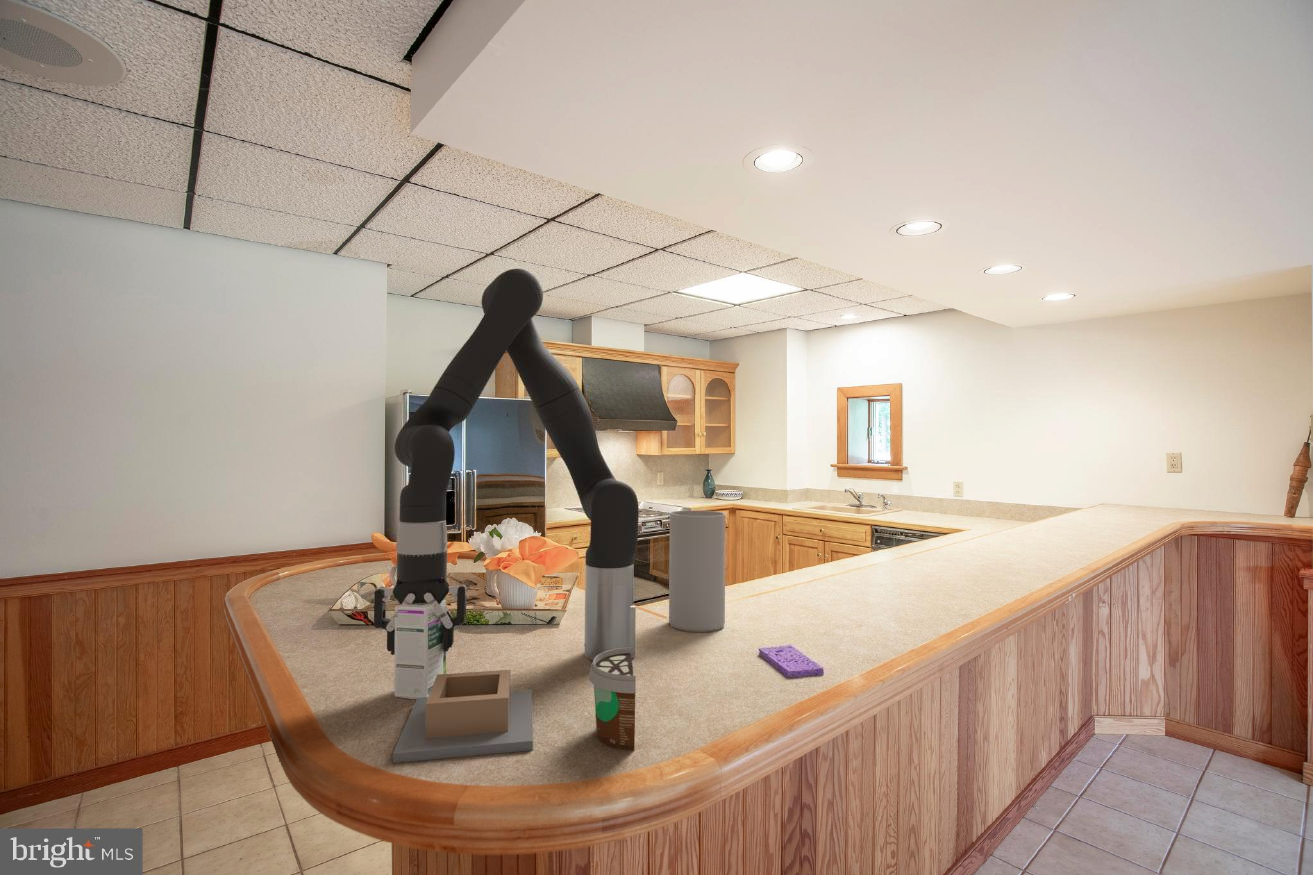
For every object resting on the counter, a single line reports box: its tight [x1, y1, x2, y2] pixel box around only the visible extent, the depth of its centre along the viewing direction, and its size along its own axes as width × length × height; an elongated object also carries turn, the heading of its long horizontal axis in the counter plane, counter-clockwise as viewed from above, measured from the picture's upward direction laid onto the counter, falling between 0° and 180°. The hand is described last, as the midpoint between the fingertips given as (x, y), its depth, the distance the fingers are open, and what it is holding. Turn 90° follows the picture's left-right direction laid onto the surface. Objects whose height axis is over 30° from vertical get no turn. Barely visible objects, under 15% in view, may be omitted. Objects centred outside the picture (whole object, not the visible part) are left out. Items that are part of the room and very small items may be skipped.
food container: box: [588, 647, 637, 751], centre depth 83 cm, size 12×6×10 cm, turn 5°
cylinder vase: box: [668, 510, 727, 633], centre depth 136 cm, size 12×12×25 cm
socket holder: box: [392, 669, 534, 764], centre depth 85 cm, size 17×17×6 cm
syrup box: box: [393, 598, 447, 700], centre depth 97 cm, size 6×6×14 cm
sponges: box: [758, 644, 825, 679], centre depth 111 cm, size 7×13×2 cm, turn 15°
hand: (420, 651), depth 97 cm, fingers closed on syrup box, 7 cm apart
